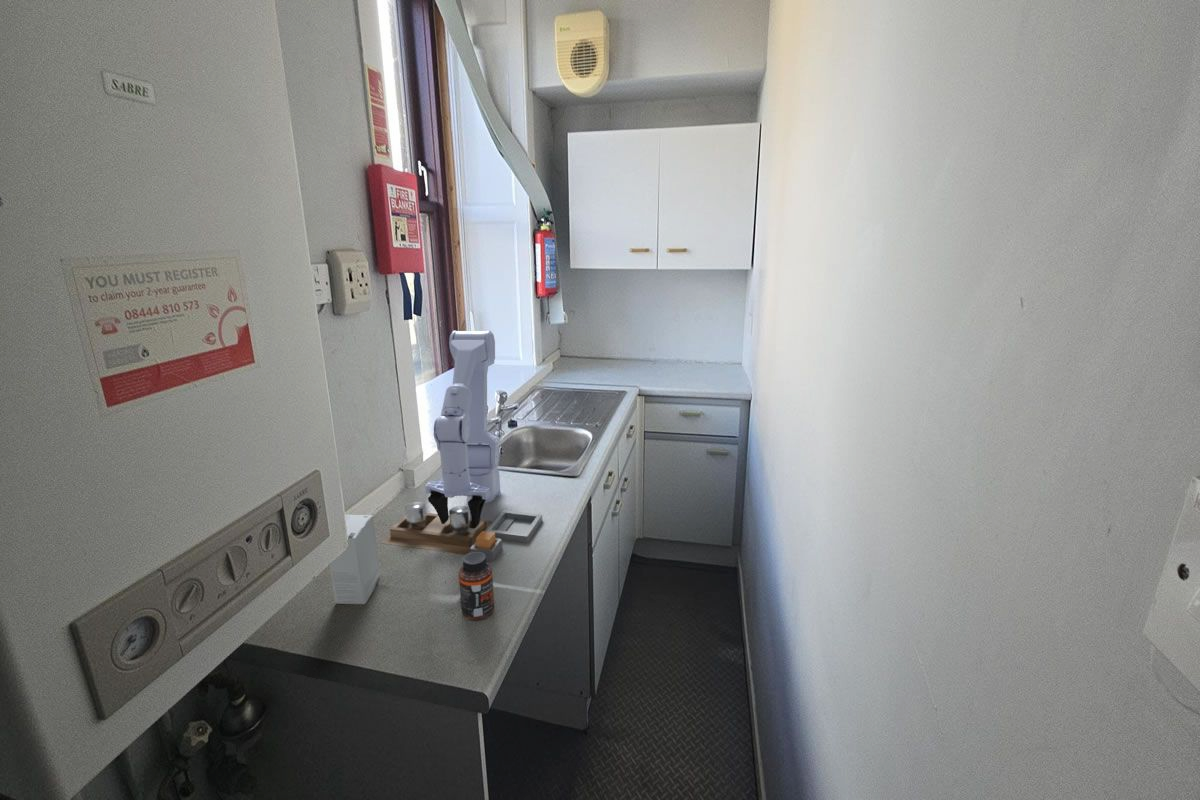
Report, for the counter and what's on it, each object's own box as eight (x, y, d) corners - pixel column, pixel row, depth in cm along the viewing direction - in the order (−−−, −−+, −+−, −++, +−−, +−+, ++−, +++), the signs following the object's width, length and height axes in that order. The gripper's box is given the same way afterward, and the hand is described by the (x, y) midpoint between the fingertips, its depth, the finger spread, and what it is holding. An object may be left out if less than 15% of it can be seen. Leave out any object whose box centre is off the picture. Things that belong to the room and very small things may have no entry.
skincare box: (353, 578, 111) (343, 513, 106) (383, 578, 110) (374, 513, 106) (334, 606, 102) (321, 536, 98) (366, 606, 102) (355, 536, 98)
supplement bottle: (487, 624, 98) (482, 569, 94) (456, 619, 99) (450, 565, 95) (499, 602, 103) (496, 550, 100) (470, 598, 104) (465, 546, 101)
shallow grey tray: (503, 517, 134) (502, 510, 133) (542, 522, 131) (542, 514, 131) (486, 539, 124) (485, 531, 124) (527, 544, 122) (527, 536, 121)
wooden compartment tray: (415, 516, 135) (414, 505, 134) (494, 525, 130) (494, 514, 129) (381, 546, 122) (379, 534, 121) (468, 558, 117) (466, 546, 116)
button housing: (481, 548, 121) (480, 536, 120) (502, 550, 120) (501, 538, 119) (471, 560, 116) (470, 548, 115) (493, 563, 115) (492, 551, 114)
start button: (483, 543, 119) (482, 530, 118) (495, 544, 119) (495, 532, 118) (477, 550, 116) (476, 538, 116) (490, 552, 116) (489, 539, 115)
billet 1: (414, 523, 129) (411, 500, 127) (431, 525, 128) (428, 502, 127) (404, 533, 125) (401, 509, 123) (421, 535, 124) (418, 511, 122)
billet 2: (457, 528, 127) (455, 504, 125) (474, 530, 126) (472, 507, 124) (447, 537, 123) (445, 514, 121) (465, 540, 122) (463, 516, 120)
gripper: (415, 472, 117) (421, 528, 121) (478, 479, 114) (482, 536, 118) (432, 459, 124) (438, 513, 128) (492, 465, 121) (495, 520, 125)
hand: (460, 523), depth 123 cm, fingers open, 7 cm apart
